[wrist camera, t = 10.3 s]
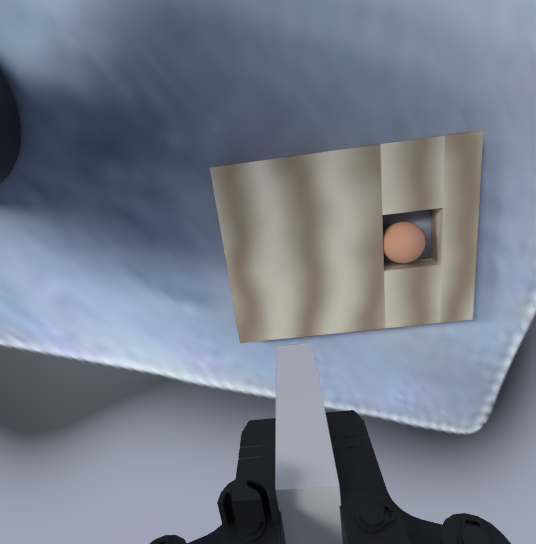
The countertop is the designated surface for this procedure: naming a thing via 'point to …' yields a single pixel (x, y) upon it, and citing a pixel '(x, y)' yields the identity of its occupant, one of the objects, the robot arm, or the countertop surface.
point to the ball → (403, 242)
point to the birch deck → (349, 237)
